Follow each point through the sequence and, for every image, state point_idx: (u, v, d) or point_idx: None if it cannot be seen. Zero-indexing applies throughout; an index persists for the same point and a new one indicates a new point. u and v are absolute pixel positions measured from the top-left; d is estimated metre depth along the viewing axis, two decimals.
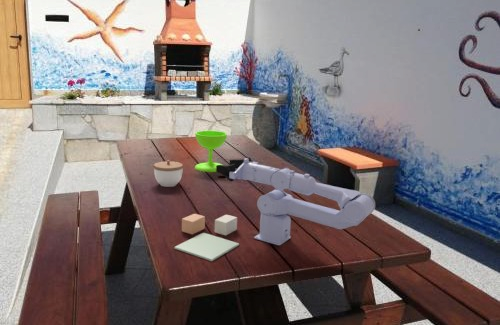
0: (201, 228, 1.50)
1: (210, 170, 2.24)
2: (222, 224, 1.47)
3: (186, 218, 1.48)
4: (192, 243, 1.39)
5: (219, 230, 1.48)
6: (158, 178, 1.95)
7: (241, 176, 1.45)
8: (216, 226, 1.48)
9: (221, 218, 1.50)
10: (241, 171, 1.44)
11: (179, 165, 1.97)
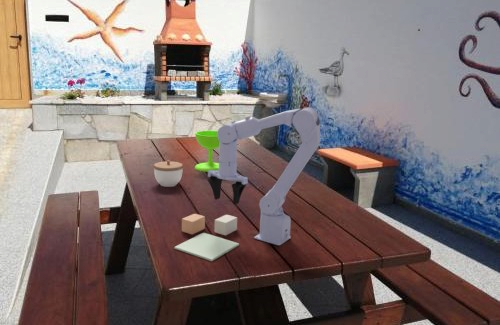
0: (201, 228, 1.50)
1: None
2: (221, 224, 1.47)
3: (186, 218, 1.48)
4: (192, 243, 1.39)
5: (219, 230, 1.48)
6: (158, 178, 1.95)
7: (236, 175, 1.46)
8: (216, 226, 1.49)
9: (221, 218, 1.50)
10: (234, 176, 1.44)
11: (179, 165, 1.97)
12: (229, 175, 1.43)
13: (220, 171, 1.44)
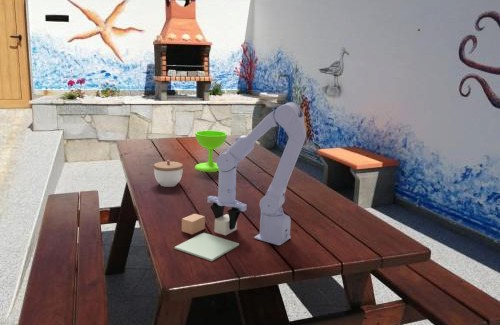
0: (201, 228, 1.50)
1: (210, 170, 2.24)
2: (221, 224, 1.47)
3: (186, 218, 1.48)
4: (192, 243, 1.39)
5: (219, 229, 1.48)
6: (158, 178, 1.95)
7: (235, 202, 1.48)
8: (216, 226, 1.48)
9: (221, 218, 1.50)
10: (233, 203, 1.46)
11: (179, 165, 1.97)
12: (228, 202, 1.46)
13: (219, 198, 1.46)
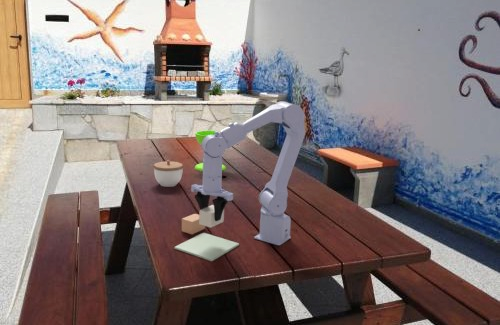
0: (201, 228, 1.50)
1: None
2: (207, 215, 1.35)
3: (186, 218, 1.48)
4: (192, 243, 1.39)
5: (204, 221, 1.36)
6: (158, 178, 1.95)
7: (221, 190, 1.36)
8: (201, 217, 1.36)
9: (206, 208, 1.38)
10: (218, 192, 1.34)
11: (179, 165, 1.97)
12: (213, 190, 1.33)
13: (204, 186, 1.34)
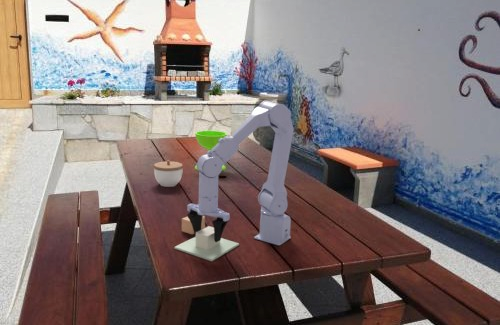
0: (201, 228, 1.50)
1: None
2: (203, 238, 1.34)
3: (186, 218, 1.48)
4: (192, 243, 1.39)
5: (201, 243, 1.35)
6: (158, 178, 1.95)
7: (218, 210, 1.35)
8: (197, 239, 1.35)
9: (203, 230, 1.37)
10: (215, 212, 1.33)
11: (179, 165, 1.97)
12: (209, 211, 1.32)
13: (200, 206, 1.33)
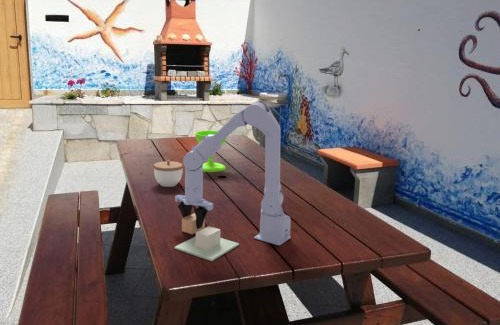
0: (201, 228, 1.50)
1: (210, 170, 2.24)
2: (203, 238, 1.34)
3: (186, 218, 1.48)
4: (192, 243, 1.39)
5: (201, 243, 1.35)
6: (158, 178, 1.95)
7: (202, 200, 1.48)
8: (197, 239, 1.35)
9: (203, 230, 1.37)
10: (200, 202, 1.46)
11: (179, 165, 1.97)
12: (195, 201, 1.45)
13: (186, 197, 1.46)
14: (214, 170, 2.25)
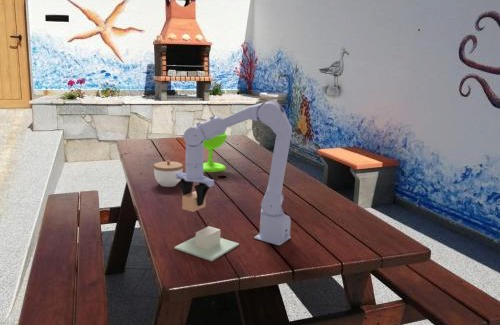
0: (202, 205, 1.48)
1: (210, 170, 2.24)
2: (203, 238, 1.34)
3: (187, 195, 1.46)
4: (192, 243, 1.39)
5: (201, 243, 1.35)
6: (158, 178, 1.95)
7: (203, 177, 1.46)
8: (197, 239, 1.35)
9: (203, 230, 1.37)
10: (200, 178, 1.44)
11: (179, 165, 1.97)
12: (195, 177, 1.43)
13: (186, 173, 1.44)
14: (214, 170, 2.25)
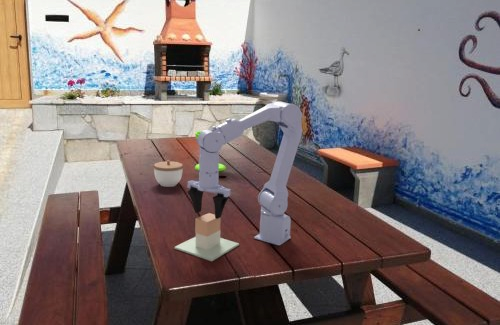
0: (216, 229, 1.36)
1: None
2: (203, 238, 1.34)
3: (200, 218, 1.34)
4: (192, 243, 1.39)
5: (200, 243, 1.35)
6: (158, 178, 1.95)
7: (218, 186, 1.33)
8: (197, 239, 1.35)
9: None
10: (215, 188, 1.31)
11: (179, 165, 1.97)
12: (210, 187, 1.30)
13: (200, 182, 1.31)
14: None
